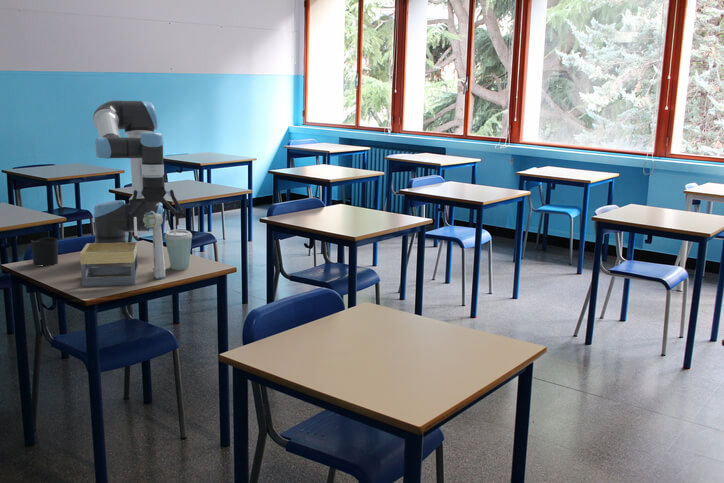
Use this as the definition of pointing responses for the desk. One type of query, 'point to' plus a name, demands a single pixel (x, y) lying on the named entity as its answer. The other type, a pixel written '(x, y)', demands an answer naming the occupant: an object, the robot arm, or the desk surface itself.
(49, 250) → the pen holder
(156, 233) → the toothbrush head
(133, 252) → the collar stand
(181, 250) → the disposable coffee cup
